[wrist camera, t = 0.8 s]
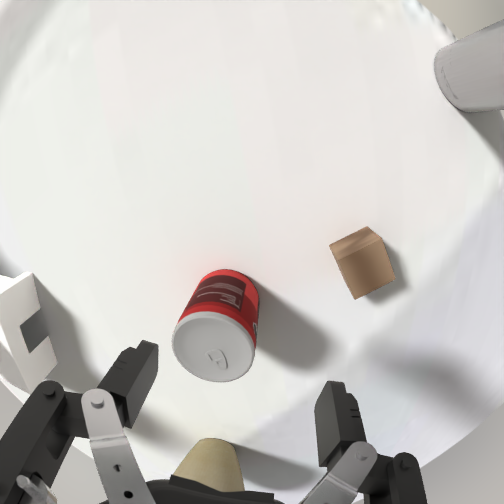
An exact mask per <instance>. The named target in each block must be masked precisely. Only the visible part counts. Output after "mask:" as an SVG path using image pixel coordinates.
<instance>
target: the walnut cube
mask: <svg viewBox="0 0 504 504" xmlns="http://www.w3.org/2000/svg"><path fill="white" fill-rule="evenodd" d="M329 247H330V249H331V251H332V253H333V255H334V258H335V260H336V262H337V264H338V267H339V269H340V271H341V274H342V276H343V278H344V280H345V282H346V284H347V286H348V288H349V290H350V292H351V294H352V296H353V298H354V299H358V298H360V297H362V296H364V295H366V294H368V293H370V292H372V291H374V290H376V289H378V288H380V287H382V286H383V285H385V284H387V283H389V282H391V281H393V280H395V275H394V272H393V269H392V266H391V263H390V260H389V257H388V254H387V252H386V249H385V246H384V243H383V240H382V238H381V237H380V236H378V235H377V234H376V233H375V232H373V231H372V230H371V229H370V228H368V227H365V228H363V229H361V230H359V231H357V232H355V233H353V234H351V235H349V236H347V237H345V238H343V239H341V240H338V241H336V242H334V243H332V244H330V245H329Z"/></svg>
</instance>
